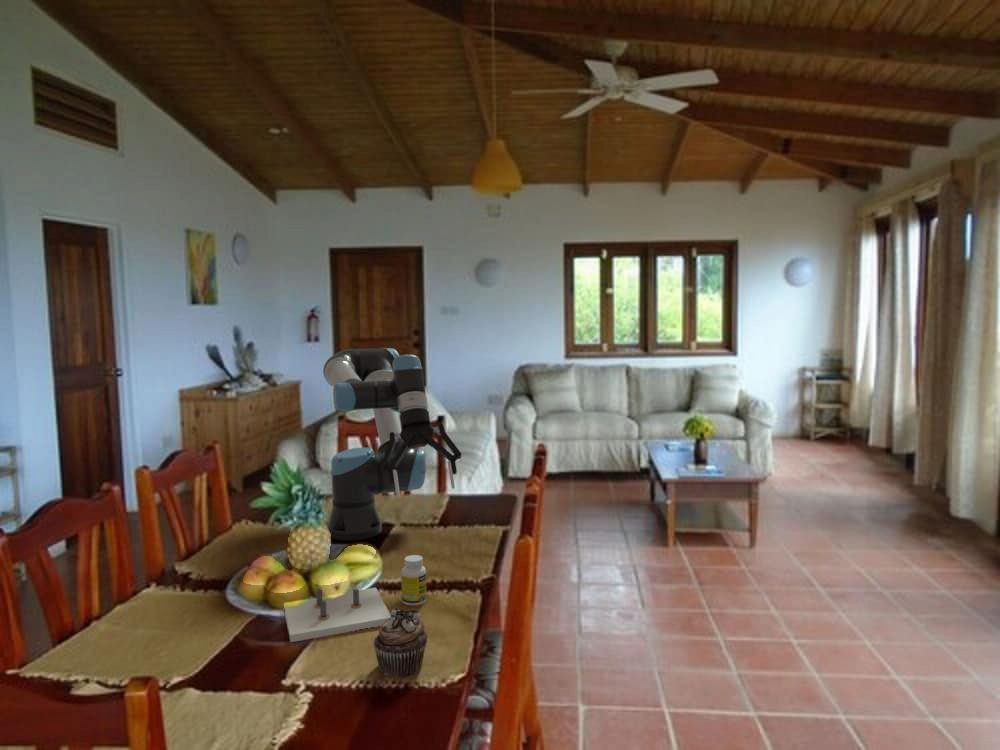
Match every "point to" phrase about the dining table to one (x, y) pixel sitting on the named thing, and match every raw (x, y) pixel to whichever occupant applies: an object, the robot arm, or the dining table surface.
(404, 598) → the supplement bottle
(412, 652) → the cupcake
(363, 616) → the pin nest
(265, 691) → the dining table surface
